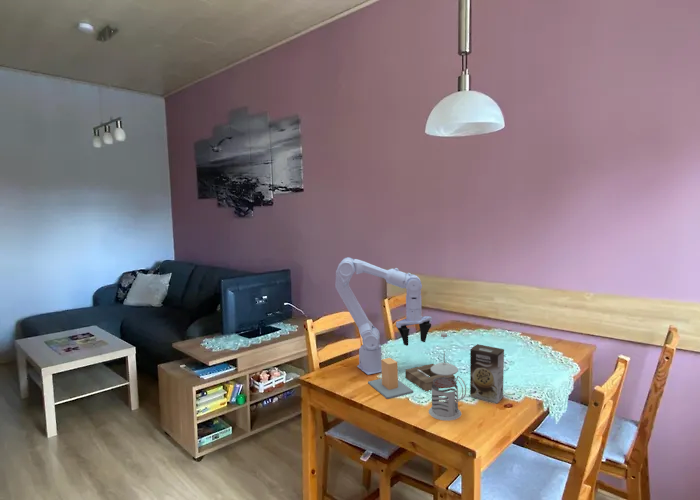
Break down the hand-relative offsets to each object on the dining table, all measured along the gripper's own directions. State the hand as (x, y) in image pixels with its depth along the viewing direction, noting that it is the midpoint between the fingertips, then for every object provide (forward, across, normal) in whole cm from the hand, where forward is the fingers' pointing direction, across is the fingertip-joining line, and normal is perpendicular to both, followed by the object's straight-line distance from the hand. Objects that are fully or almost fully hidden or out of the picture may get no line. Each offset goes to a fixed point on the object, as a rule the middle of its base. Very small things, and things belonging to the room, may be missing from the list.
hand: (414, 343), depth 165 cm
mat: (+10, -16, -9) cm, 21 cm away
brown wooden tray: (+10, -1, -11) cm, 15 cm away
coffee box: (+11, +8, -30) cm, 33 cm away
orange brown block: (+10, -16, -9) cm, 21 cm away
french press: (+11, -10, -33) cm, 36 cm away
